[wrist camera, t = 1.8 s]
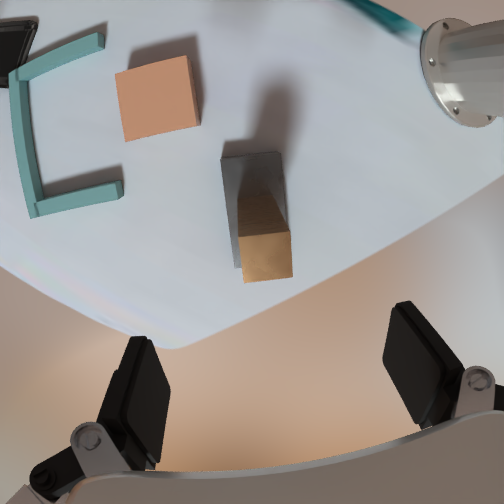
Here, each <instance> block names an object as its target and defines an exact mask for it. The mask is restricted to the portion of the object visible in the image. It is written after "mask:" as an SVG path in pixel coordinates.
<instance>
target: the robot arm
mask: <svg viewBox="0 0 504 504" xmlns="http://www.w3.org/2000/svg"><path fill="white" fill-rule="evenodd" d="M421 62H422V68H423V72H424V77H425V79H426V82H427V85H428V87H429V89H430V91H431V93H432V95H433V97H434V99H435V100H436V102H437V103H438V105H439V106H440V108H441V109H442V110H443V111H444V112H445V113H446V114H447V115H448V116H449V117H450V118H452V119H453V120H454V121H456V122H458V123H459V124H461V125H464V126H468V127H475V128H479V127H485V126H487V125H489V124H490V123H491V122H493V121H494V120H495V118H496V117H497V116H499V117H504V20H499V21H494V22H489V23H484V24H479V25H476V26H471V25H470V24H468V23H466V22H464V21H462V20H459V19H455V18H446V19H443V20H439V21H437V22H435V23H433V24H432V25H431V26H430V27H429V28H428V29H427V31H426V32H425V34H424V36H423V40H422V44H421ZM383 364H384V366H385V368H386V370H387V372H388V373H389V375H390V377H391V379H392V381H393V383H394V385H395V387H396V389H397V390H398V392H399V394H400V396H401V398H402V400H403V401H404V404H405V406H406V407H407V410H408V412H409V413H410V415H411V417H412V419H413V421H414V423H415V424H419V426H420V428H421V430H422V431H419V432H416V433H413V434H410V435H407V436H405V437H402V438H399V439H396V440H393V441H389V442H386V443H383V444H380V445H376V446H373V447H369V448H366V449H362V450H358V451H355V452H351V453H346V454H342V455H338V456H333V457H329V458H324V459H319V460H313V461H309V462H302V463H297V464H290V465H283V466H275V467H267V468H258V469H247V470H233V471H209V472H167V471H166V472H165V471H145V469H149V470H155V466H156V463H159V462H160V459H161V452H162V444H163V438H164V431H165V424H166V418H167V412H168V406H169V400H170V392H171V391H170V386H169V383H168V381H167V378H166V376H165V373H164V371H163V368H162V366H161V363H160V361H159V358H158V356H157V353H156V351H155V348H154V345H153V343H152V340H150V339H147V337H146V336H132V337H130V339H129V342H128V344H127V347H126V350H125V352H124V355H123V357H122V360H121V363H120V365H119V368H118V370H116V371H114V373H113V376H112V378H111V381H110V384H109V387H108V389H107V392H106V395H105V398H104V400H103V403H102V406H101V409H100V412H99V415H98V418H97V421H96V422H86V423H83V424H81V425H79V426H78V427H76V428H75V430H74V431H73V432H72V434H71V438H70V443H71V446H69V447H68V448H66V449H64V450H63V451H61V452H59V453H58V454H56V455H54V456H52V457H50V458H49V459H47V460H45V461H43V462H41V463H40V464H38V465H37V466H35V467H34V468H33V470H32V471H31V474H30V484H29V485H28V486H27V485H25V484H24V485H23V487H22V488H21V489H20V490H19V491H18V492H17V493H16V494H15V495H14V496H13V497H12V498H11V499H10V500H9V501H8V502H7V503H6V504H504V386H501V385H497V384H495V378H494V376H493V374H492V373H491V372H490V371H489V370H488V369H486V368H484V367H481V366H472V367H469V368H467V369H466V370H465V368H464V367H463V364H462V363H461V362H460V360H459V359H458V358H457V357H456V355H455V354H454V353H453V351H452V350H451V349H450V348H449V346H448V345H447V344H446V343H445V341H444V340H443V339H442V338H441V336H440V335H439V334H438V333H437V331H436V330H435V329H434V328H433V327H432V326H431V324H430V323H429V322H428V321H427V319H425V317H424V316H423V315H422V313H421V312H420V311H419V310H418V309H417V308H416V306H415V305H414V304H413V303H412V302H411V301H405V302H400V303H397V304H396V305H395V307H394V308H392V311H391V316H390V323H389V328H388V333H387V338H386V343H385V348H384V353H383ZM430 426H432V427H430ZM428 427H430V428H428ZM425 428H427V429H425ZM423 429H424V430H423Z"/></svg>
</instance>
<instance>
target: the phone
mask: <svg viewBox="0 0 504 504" xmlns="http://www.w3.org/2000/svg"><path fill="white" fill-rule="evenodd" d="M37 29H38V25H37V23H36V22H34V21H31V20H28V21H13V22H4V23H0V88H9V73H10V72H12V71H14V70H15V69H17V68H19V67H21V66H22V65H24V64H25V63H26V60H27V57H28V54H29V51H30V48H31V45H32V42H33V40H34V37H35V35H36V32H37Z"/></svg>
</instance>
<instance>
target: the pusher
mask: <svg viewBox="0 0 504 504" xmlns="http://www.w3.org/2000/svg"><path fill="white" fill-rule="evenodd" d="M220 162H221V170H222V177H223V185H224V193H225V200H226V208H227V215H228V223H229V230H230V237H231V245H232V252H233V259H234V266H235V268H242V271H243V279H244V283H248V282H257V281H266V280H274V279H282V278H290V277H293V273H292V253H291V235H290V230H289V228H288V226H287V224H286V213H285V199H284V186H283V173H282V161H281V153H280V152H268V153H257V154H248V155H239V156H230V157H222V158H221V159H220Z"/></svg>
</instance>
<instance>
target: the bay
mask: <svg viewBox="0 0 504 504" xmlns="http://www.w3.org/2000/svg"><path fill="white" fill-rule="evenodd" d="M103 49H104V35H102V34H100V33H98V32H96V33H93V34H90V35H88V36H85V37H83V38H80V39H78V40H75V41H73V42H70V43H68V44H66V45H63V46H61V47H59V48H57V49H54V50H52V51H50V52H48V53H46V54H44V55H42V56H40V57H38V58H36V59H34V60H32V61H30V62H28V63H26V64H24V65H22V66H21V67H19V68H17V69H15V70H14V71H12V72H10V73H9V95H10V109H11V120H12V129H13V137H14V144H15V151H16V157H17V162H18V168H19V173H20V178H21V183H22V187H23V192H24V196H25V200H26V204H27V208H28V212H29V216H30V219H32V218H36V217H40V216H44V215H48V214H52V213H56V212H61V211H65V210H70V209H74V208H79V207H83V206H88V205H93V204H98V203H103V202H108V201H113V200H118V199H120V198H121V197H122V196H124V193H123V188H122V183H121V180H118V181H114V182H109V183H104V184H100V185H95V186H91V187H87V188H83V189H78V190H74V191H70V192H66V193H62V194H59V195H55V196H51V197H47V198H44V196H43V192H42V187H41V183H40V178H39V173H38V168H37V163H36V157H35V151H34V145H33V138H32V130H31V122H30V113H29V102H28V88H27V81H29V80H31V79H33V78H35V77H37V76H39V75H41V74H43V73H45V72H47V71H49V70H52V69H54V68H56V67H59V66H61V65H63V64H66V63H68V62H70V61H73V60H75V59H78V58H81V57H83V56H86V55H89V54H91V53H94V52H97V51H100V50H103Z"/></svg>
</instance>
